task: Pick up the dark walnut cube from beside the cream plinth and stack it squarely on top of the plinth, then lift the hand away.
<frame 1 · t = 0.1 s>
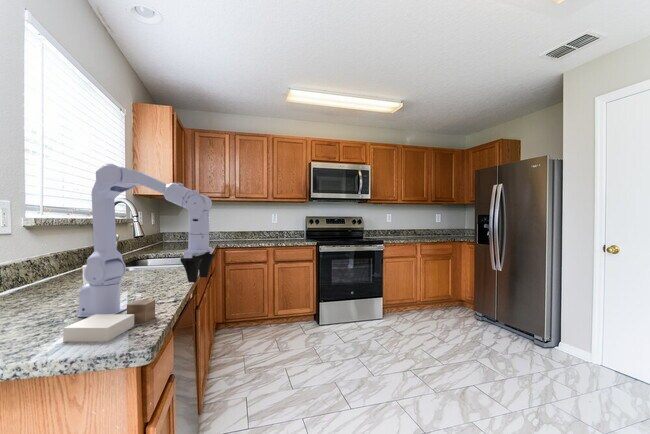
hand: (198, 279, 90), 10 cm above the countertop, fingers open, 7 cm apart
white cup: (94, 290, 119), on the countertop
cream plinth: (101, 334, 74), on the countertop
walnut cube: (141, 320, 84), on the countertop
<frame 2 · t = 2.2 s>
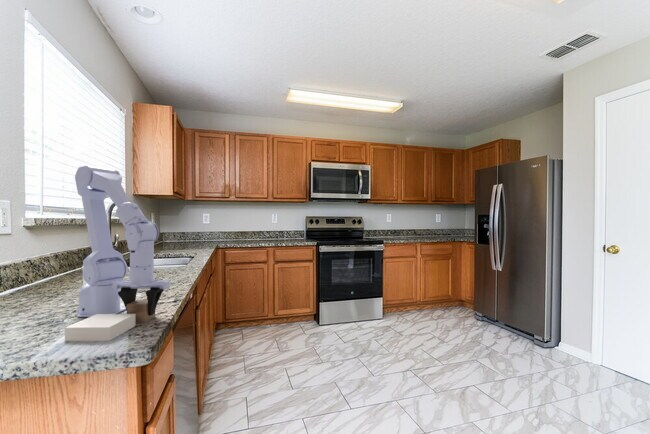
hand: (141, 314, 84), 1 cm above the countertop, fingers closed on walnut cube, 5 cm apart
walnut cube: (141, 319, 84), on the countertop, touching gripper
everything else where it was.
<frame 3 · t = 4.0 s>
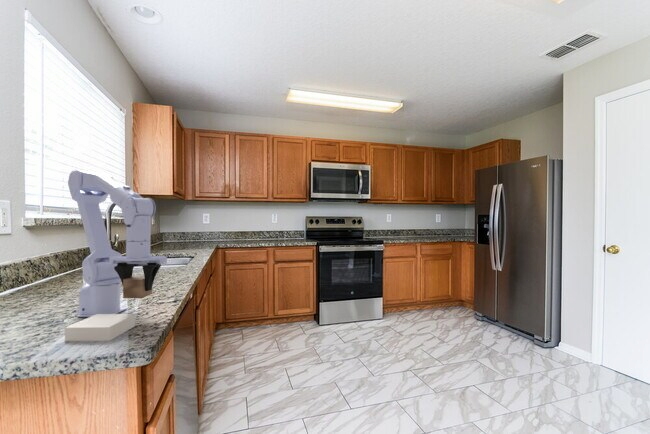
hand: (138, 290, 83), 8 cm above the countertop, fingers closed on walnut cube, 5 cm apart
walnut cube: (138, 295, 83), point 7 cm above the countertop, touching gripper
everything else where it was.
when the fingers open (6 cm above the countertop, at t = 5.9 s): walnut cube drops 1 cm, resting on cream plinth.
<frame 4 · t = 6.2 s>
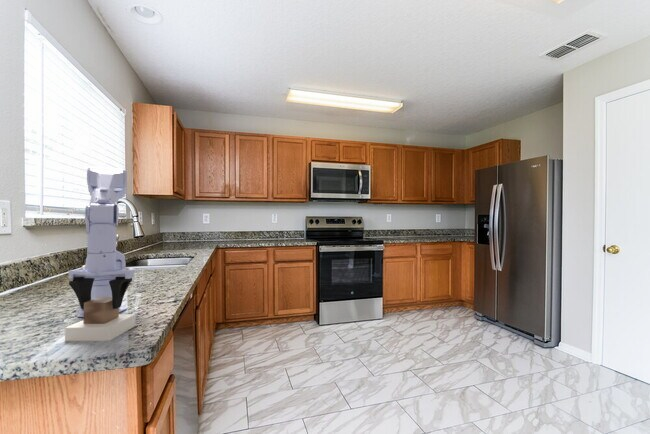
hand: (101, 307, 74), 6 cm above the countertop, fingers open, 7 cm apart
cream plinth: (102, 334, 74), on the countertop, touching walnut cube
walnut cube: (101, 320, 74), point 3 cm above the countertop, touching cream plinth
everything else where it was.
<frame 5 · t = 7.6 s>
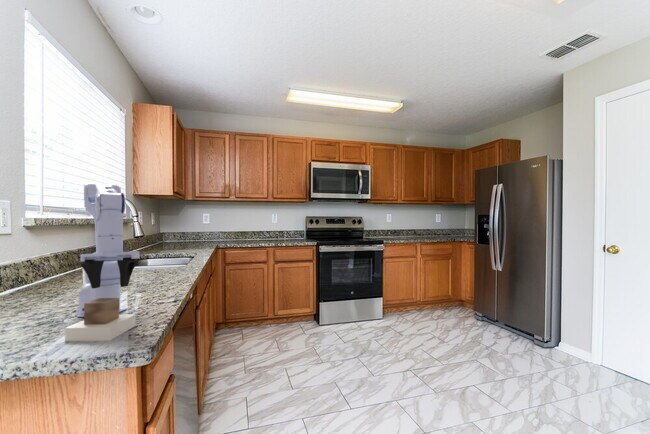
hand: (110, 287, 81), 10 cm above the countertop, fingers open, 7 cm apart
nothing on the countertop moved.
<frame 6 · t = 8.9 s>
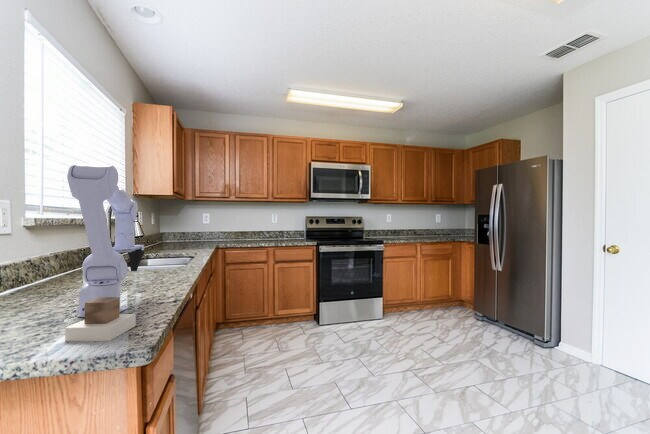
hand: (124, 272, 105), 9 cm above the countertop, fingers open, 7 cm apart
cream plinth: (102, 334, 74), on the countertop
walnut cube: (102, 320, 74), point 3 cm above the countertop
everything else where it was.
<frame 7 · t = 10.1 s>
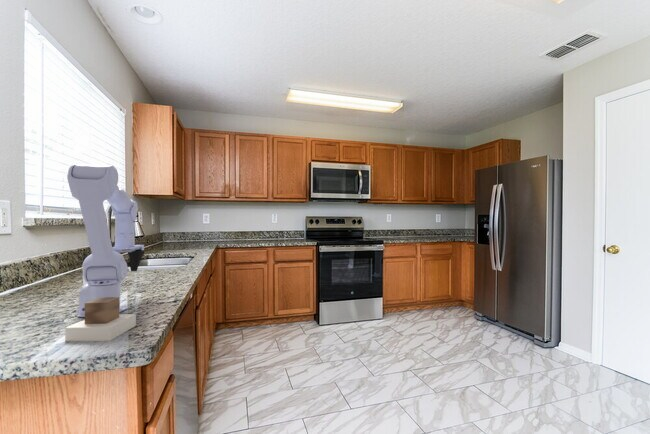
hand: (124, 272, 105), 9 cm above the countertop, fingers open, 7 cm apart
cream plinth: (102, 334, 74), on the countertop, touching walnut cube
walnut cube: (102, 320, 74), point 3 cm above the countertop, touching cream plinth
everything else where it was.
at the end: walnut cube 0.1 cm off-centre on the cream plinth, point 3.5 cm above the cream plinth's base; walnut cube tilted 0°; cream plinth moved 0.7 cm from its start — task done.
